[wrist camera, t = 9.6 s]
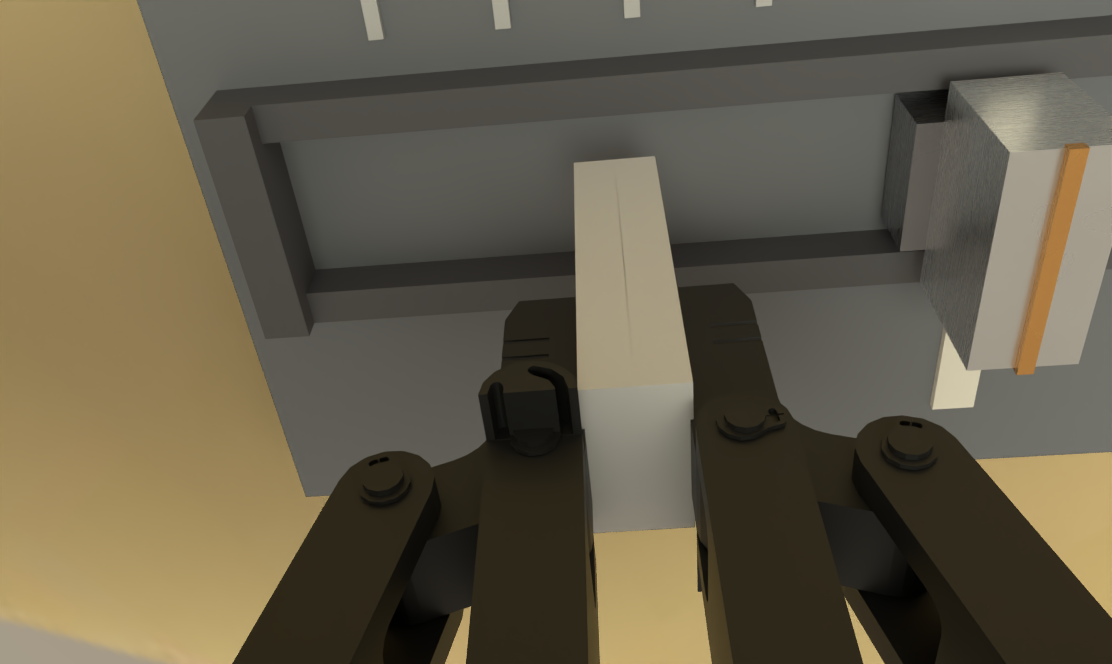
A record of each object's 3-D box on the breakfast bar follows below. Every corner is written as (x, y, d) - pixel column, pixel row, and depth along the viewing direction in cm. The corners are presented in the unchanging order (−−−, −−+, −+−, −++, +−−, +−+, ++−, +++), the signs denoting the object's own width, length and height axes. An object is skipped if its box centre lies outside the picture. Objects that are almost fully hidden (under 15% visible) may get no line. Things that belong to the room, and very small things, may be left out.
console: (321, 447, 28) (293, 538, 25) (92, -281, 18) (0, -265, 15) (1176, 396, 27) (1249, 487, 24) (1481, -436, 16) (1675, -450, 13)
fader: (877, 249, 22) (941, 379, 18) (900, 52, 19) (981, 156, 15) (1014, 239, 21) (1109, 369, 18) (1058, 39, 19) (1179, 141, 15)
